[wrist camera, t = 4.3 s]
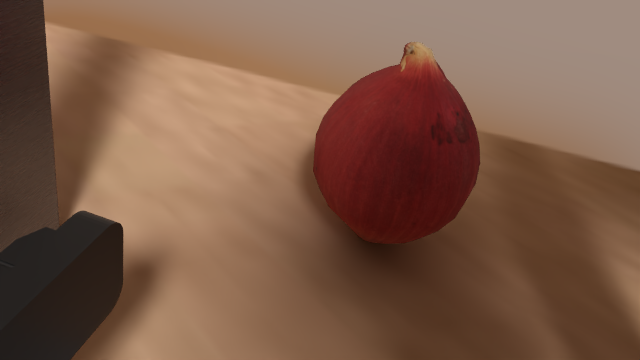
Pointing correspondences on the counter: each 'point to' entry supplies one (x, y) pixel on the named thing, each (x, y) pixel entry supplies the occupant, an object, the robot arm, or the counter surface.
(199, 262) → the counter surface
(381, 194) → the onion
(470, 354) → the counter surface
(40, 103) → the post
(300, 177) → the counter surface
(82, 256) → the robot arm
